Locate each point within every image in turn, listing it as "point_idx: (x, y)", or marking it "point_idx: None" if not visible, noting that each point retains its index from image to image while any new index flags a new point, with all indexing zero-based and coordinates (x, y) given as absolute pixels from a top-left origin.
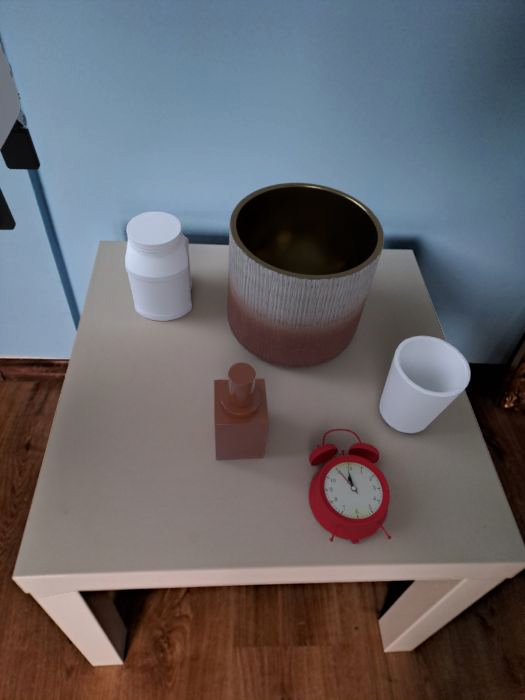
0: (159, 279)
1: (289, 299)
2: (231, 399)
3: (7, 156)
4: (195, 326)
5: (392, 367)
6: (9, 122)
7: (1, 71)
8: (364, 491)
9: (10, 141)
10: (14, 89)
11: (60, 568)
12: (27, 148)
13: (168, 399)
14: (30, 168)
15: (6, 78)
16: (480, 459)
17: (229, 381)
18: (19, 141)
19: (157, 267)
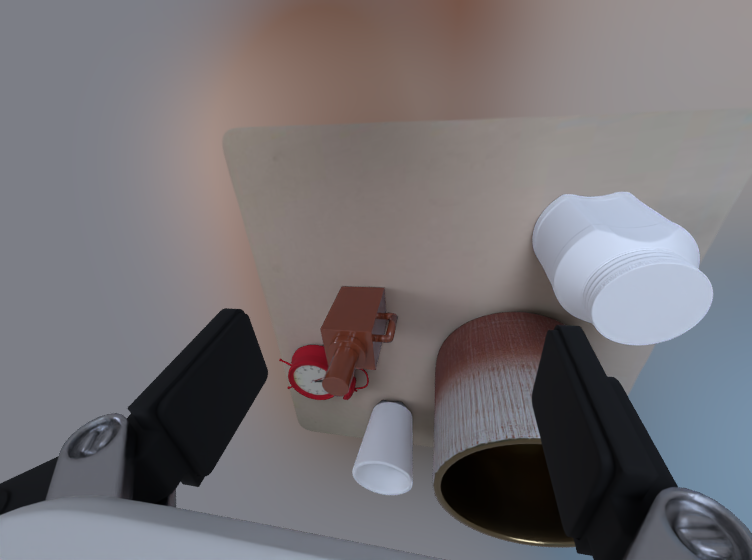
0: (553, 277)
1: (438, 436)
2: (334, 354)
3: (561, 375)
4: (515, 271)
5: (386, 453)
6: None
7: None
8: (313, 385)
9: (570, 461)
10: None
11: (229, 165)
12: (552, 464)
13: (406, 244)
14: (534, 386)
15: None
16: (358, 435)
17: (328, 374)
18: (564, 482)
19: (567, 285)
